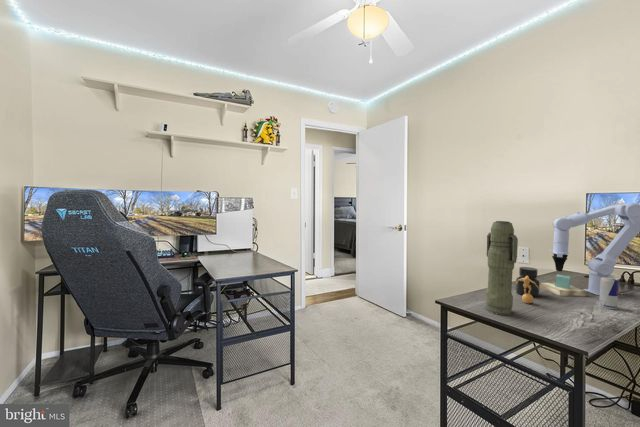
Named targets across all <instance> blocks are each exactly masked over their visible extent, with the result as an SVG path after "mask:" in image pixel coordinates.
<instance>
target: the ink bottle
mask: <svg viewBox="0 0 640 427" xmlns="http://www.w3.org/2000/svg"><path fill="white" fill-rule="evenodd" d="M518 273H519V276H518V277H516V279H515V293H517V294H519V295H522V296H523V295H524V294H525V292H524V289H525V288H524V286H523V284H525V283H524V281H523V280H519V281H518V284H516V282H517V280H518V279H522V278H525V277H526V276H528V277H529V279H530V280H532V281H533V282H535V283H536V285H537V286H538V287H539V289H538V287H537V286H536V285H535V284H534V283H532V282H530V283H529V285H531V291H530V295H532V296H533V298H534V297H535V298H536V297H539V296H540V288H541V282H540V281H539V280H538V269H537V268H535V267H529V266H528V267H527V266H519V272H518ZM529 290H530V289H529V288H528V287H527V288H526V293H527V294H529V293H528V292H529Z"/></svg>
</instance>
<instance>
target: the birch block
mask: <svg viewBox="0 0 640 427" xmlns="http://www.w3.org/2000/svg"><path fill="white" fill-rule="evenodd" d="M540 288H541V289H543V290H545V291H548V292H550V293H553V294H555V295H557V296H565V297H566V296H567V297H569V296H570V297H587V293H588V291H586V290H583V289H584V288H583V289H582V288H580V287H577V286H574V285H571V284H570V288H569V289H567V288H561V287H555V282H540Z"/></svg>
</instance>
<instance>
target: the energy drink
mask: <svg viewBox="0 0 640 427" xmlns="http://www.w3.org/2000/svg"><path fill="white" fill-rule="evenodd" d="M619 281H620V280H619V279H618V278H617V277H615V278H611V277H602V278H601V281H600V295H599V296H598V297H599V300H598V305H599V306H600V307H601V308H604V309H607V310H617V309H618V306H619V304H618V303H619V288H620V282H619Z"/></svg>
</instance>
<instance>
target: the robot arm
mask: <svg viewBox="0 0 640 427" xmlns="http://www.w3.org/2000/svg"><path fill="white" fill-rule="evenodd" d="M610 215H615V216H616V215H617V216H618V217H619V218H620V219H621V221H622V222H623V224H624V225H623V227H622V228H621V229H620V231H619V232H618V233H617V234H616V235H615V236H614V238H613V239H612V240H611V242H610V243H609V244H608V245H607V246H606V247H605V249H604V250H603V251H602V252H601V253H599V254H597V255H595V257H594V258H592V259H590V260H589V261H588V262H587V267H588V269H589V270H590V271H589V273H588V275H589V276H588V287H587V288H583V290H586V291H587V293H591V294H593V295H597V296H600V281H601V278H602V277H611V278H616V277H615V276H614V275H612V274H613V272H614V267H615V266H616V265H617V259H618V258H619V256H620V255H622V253H623V252H624V250H626V248H627V247H628V246H629V245H630V244H631V242H632V241H633V240H634V238H635V237H636V236H637V235H638V234H639V233H640V203H637V202H636V203H635V202H633V203H626V202H623V203H618V204H613V205H609V206H606V207H603V208H600V209H597V210H594V211H590V212H587V213H586V212H583V211H581V212H580V211H576V212H575V213H574V214H571V215H563V216H564V217H563V218H562V217H559V218H556V219H554V221H553V222H552V226H553V228H554V232H553V242H552V243H553V246H552V250H551V249H550V250H549V253H553V255H552V259H553V261H554V265H555V267H554V268H555V270H556V271H557V272H563V269H564V265H565V263H566V261H567V260H568V256H569V255H568V254H570V252H569V240H570V229H572V228H575V227H579V226H583V225H587V224H589V223H590V221H591V220H595V219H599V218H603V217H606V216H610Z"/></svg>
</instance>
